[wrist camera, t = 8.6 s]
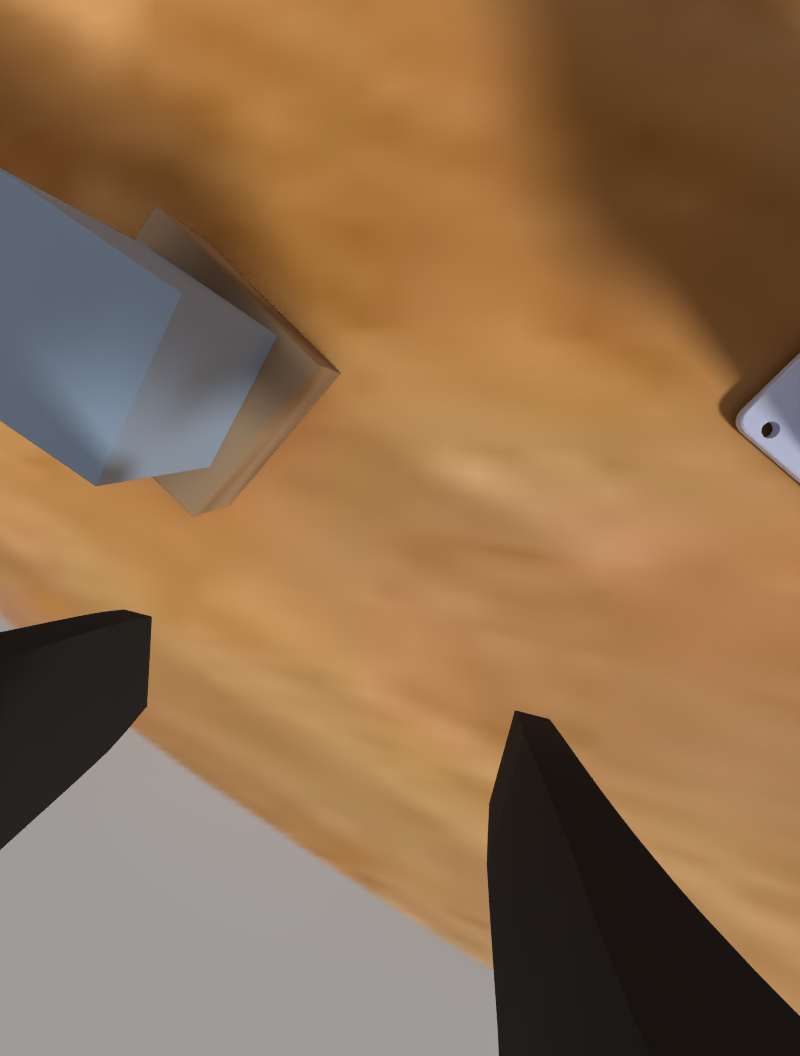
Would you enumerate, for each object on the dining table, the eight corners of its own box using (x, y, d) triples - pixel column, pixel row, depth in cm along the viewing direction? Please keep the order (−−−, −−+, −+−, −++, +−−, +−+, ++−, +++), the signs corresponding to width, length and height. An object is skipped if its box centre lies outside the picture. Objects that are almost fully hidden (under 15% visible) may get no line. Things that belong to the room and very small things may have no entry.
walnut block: (344, 374, 18) (317, 364, 15) (235, 503, 20) (192, 516, 17) (209, 241, 17) (155, 204, 15) (112, 384, 19) (48, 377, 16)
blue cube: (278, 335, 15) (181, 293, 10) (209, 466, 16) (95, 486, 11) (148, 247, 15) (-11, 162, 10) (90, 385, 16) (-74, 370, 11)
